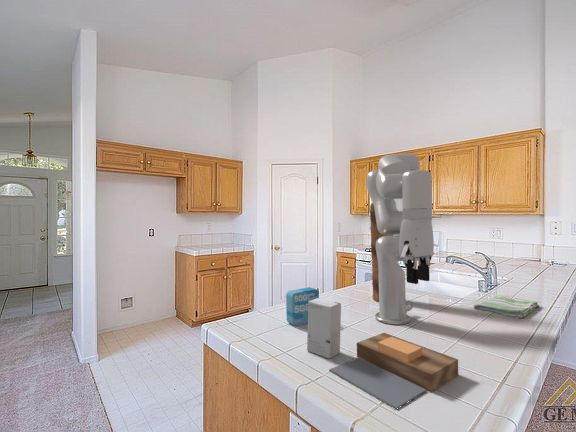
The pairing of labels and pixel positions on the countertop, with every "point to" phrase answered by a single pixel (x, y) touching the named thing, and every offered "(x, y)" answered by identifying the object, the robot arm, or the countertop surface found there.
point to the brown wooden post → (374, 253)
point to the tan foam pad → (400, 349)
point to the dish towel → (507, 307)
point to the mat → (378, 382)
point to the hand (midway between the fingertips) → (418, 281)
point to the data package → (299, 304)
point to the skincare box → (324, 327)
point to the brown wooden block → (411, 364)
